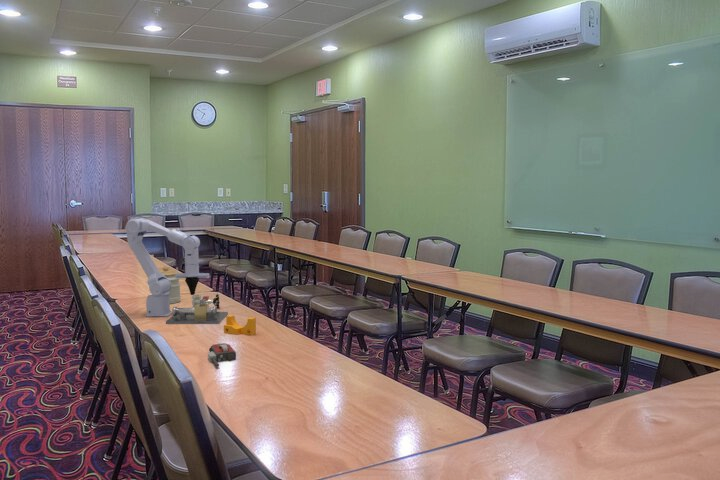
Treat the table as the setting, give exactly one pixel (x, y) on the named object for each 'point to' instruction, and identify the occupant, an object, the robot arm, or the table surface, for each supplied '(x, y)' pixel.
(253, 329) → the pipe clamp
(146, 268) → the robot arm
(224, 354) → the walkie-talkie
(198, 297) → the valve
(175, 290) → the jar
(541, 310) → the table surface
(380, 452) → the table surface
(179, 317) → the pipe stand
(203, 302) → the valve lever
